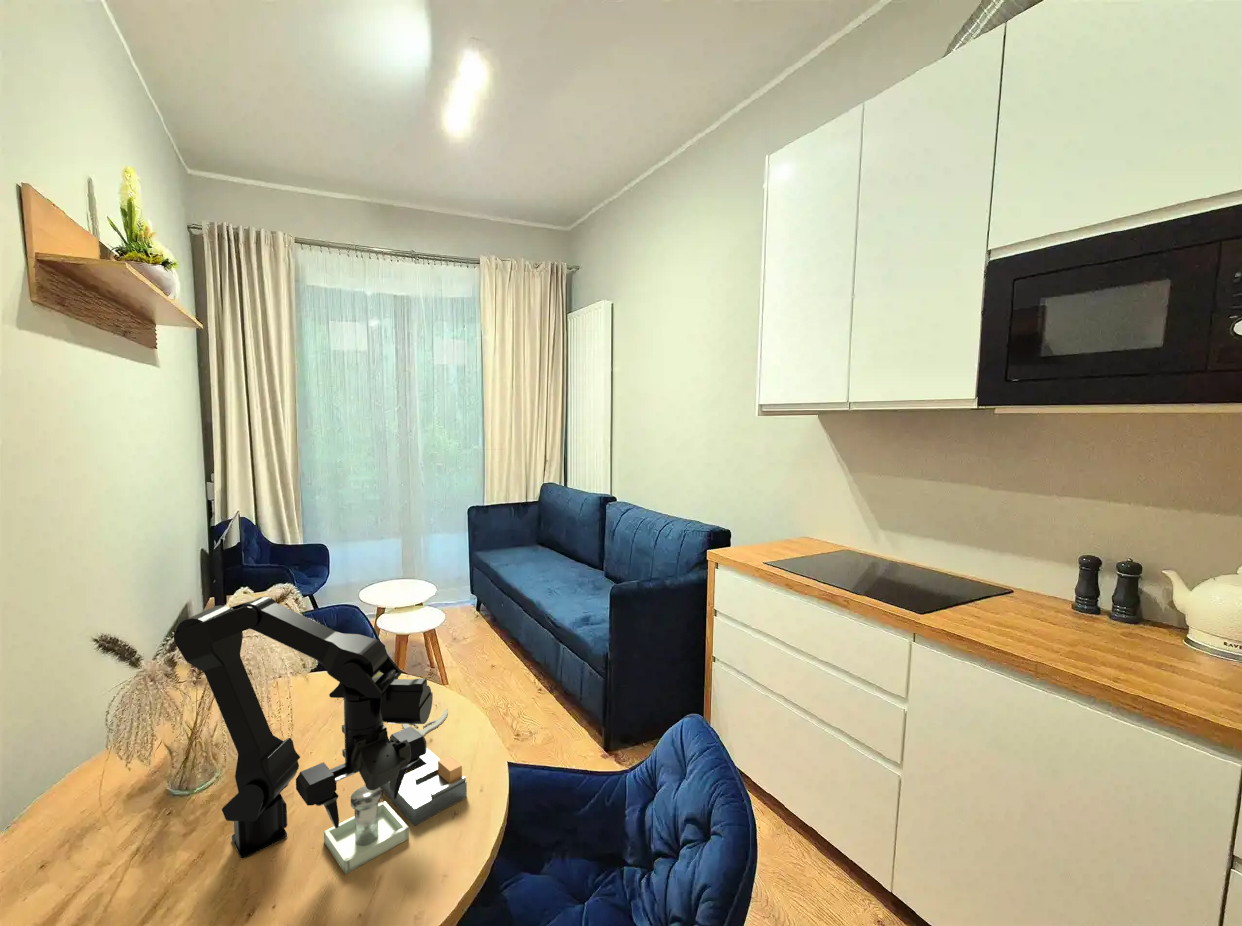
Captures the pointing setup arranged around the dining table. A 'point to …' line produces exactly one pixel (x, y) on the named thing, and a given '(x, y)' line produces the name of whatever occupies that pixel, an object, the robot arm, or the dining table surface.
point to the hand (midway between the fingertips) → (365, 811)
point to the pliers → (429, 728)
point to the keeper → (449, 769)
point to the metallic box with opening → (426, 790)
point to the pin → (366, 814)
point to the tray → (355, 855)
